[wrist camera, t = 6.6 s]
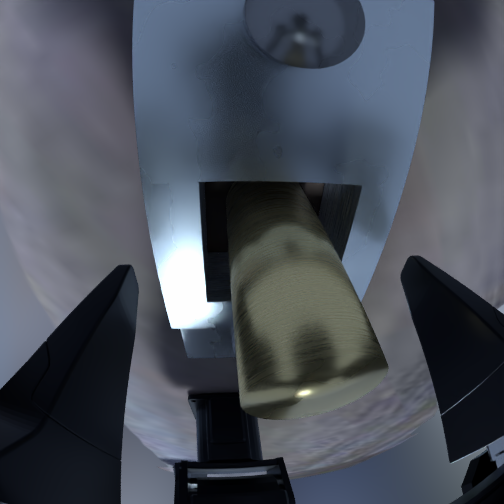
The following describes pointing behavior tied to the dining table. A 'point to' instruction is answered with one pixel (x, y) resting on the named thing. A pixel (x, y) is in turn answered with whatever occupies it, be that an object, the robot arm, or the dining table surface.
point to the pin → (294, 308)
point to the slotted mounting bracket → (272, 128)
